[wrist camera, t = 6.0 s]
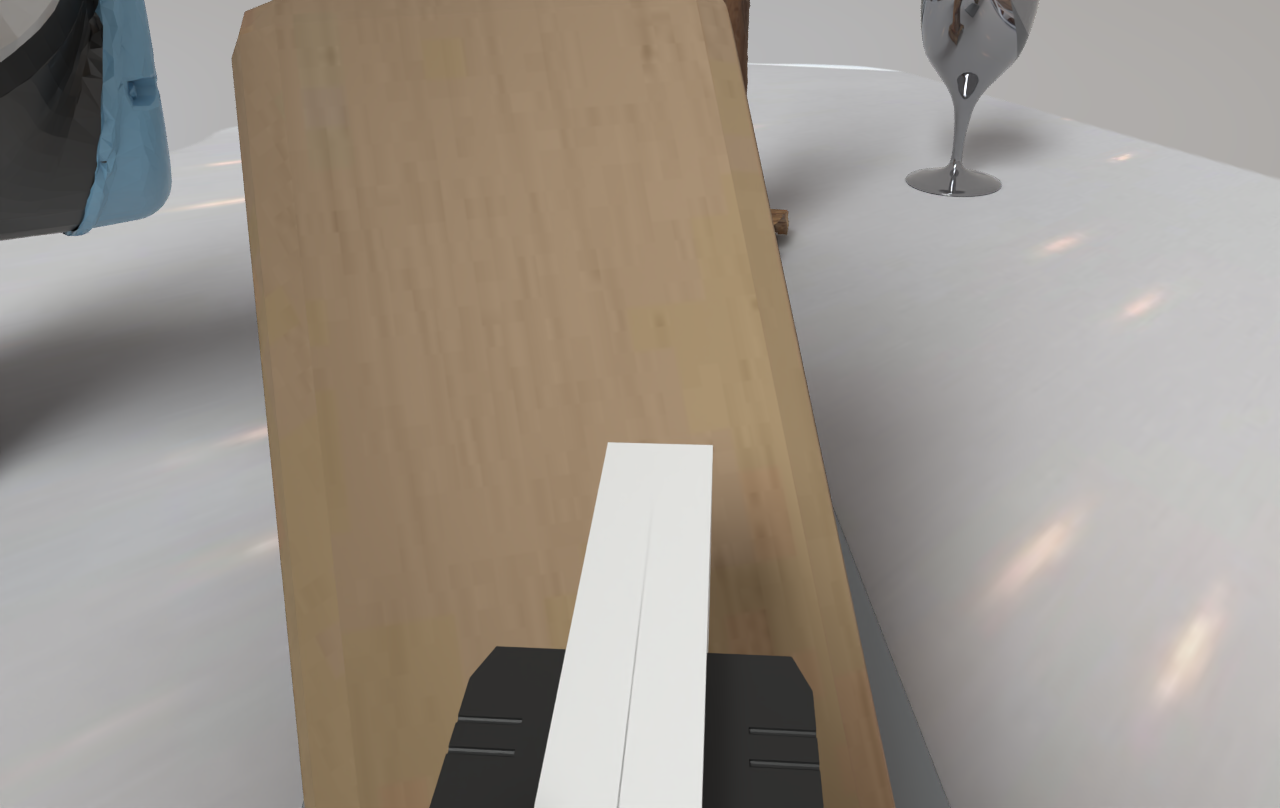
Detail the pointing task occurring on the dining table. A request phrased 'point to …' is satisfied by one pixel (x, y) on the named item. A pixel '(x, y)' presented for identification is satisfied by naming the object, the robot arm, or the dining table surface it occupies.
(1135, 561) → the dining table surface
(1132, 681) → the dining table surface
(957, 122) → the wine glass
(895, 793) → the mat
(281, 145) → the wooden block
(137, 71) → the robot arm
